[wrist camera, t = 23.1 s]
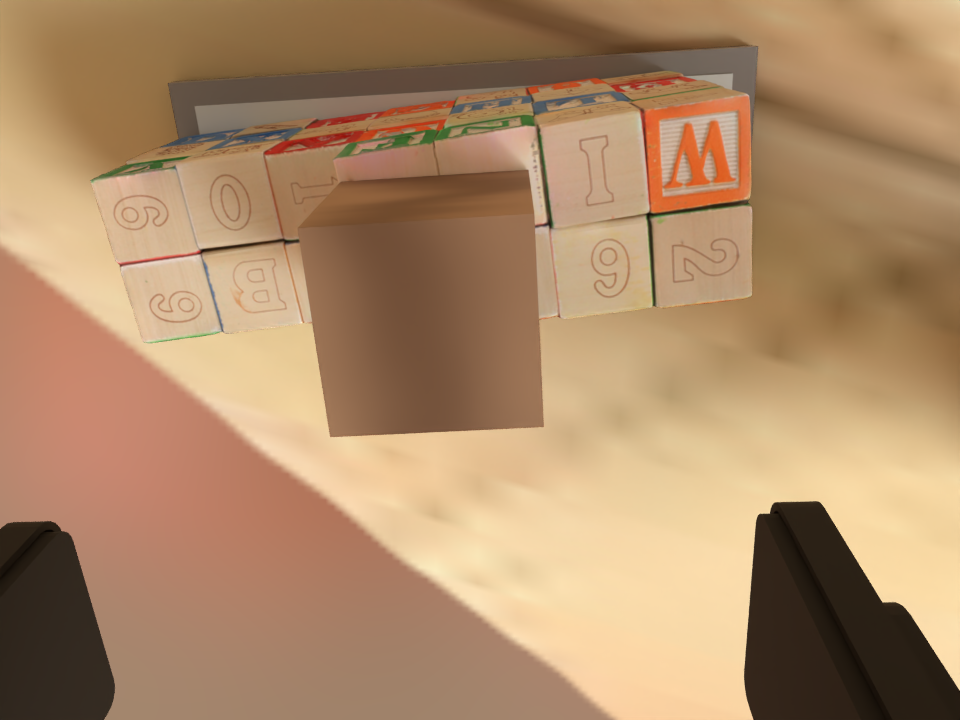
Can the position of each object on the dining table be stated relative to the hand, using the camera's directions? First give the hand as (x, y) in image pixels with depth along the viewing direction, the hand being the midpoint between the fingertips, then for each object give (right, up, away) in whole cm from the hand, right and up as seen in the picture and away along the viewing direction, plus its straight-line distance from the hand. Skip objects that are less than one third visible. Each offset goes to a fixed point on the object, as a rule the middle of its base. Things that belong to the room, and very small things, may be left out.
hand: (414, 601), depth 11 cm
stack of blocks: (-1, +12, +26) cm, 28 cm away
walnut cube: (0, +6, +14) cm, 16 cm away
